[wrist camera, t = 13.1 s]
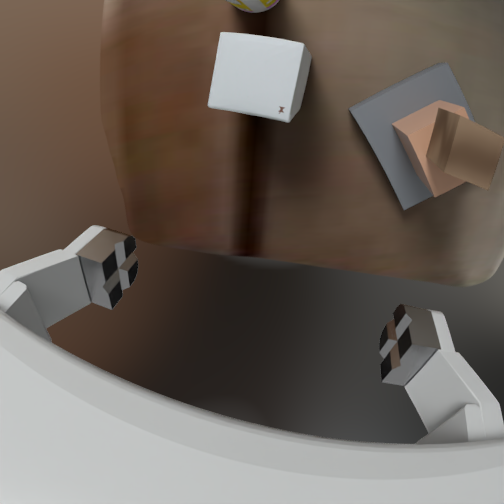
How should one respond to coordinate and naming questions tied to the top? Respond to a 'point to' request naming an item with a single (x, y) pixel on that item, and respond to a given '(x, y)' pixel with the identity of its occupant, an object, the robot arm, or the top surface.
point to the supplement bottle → (253, 5)
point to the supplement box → (259, 75)
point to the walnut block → (464, 148)
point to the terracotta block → (426, 145)
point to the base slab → (395, 108)
